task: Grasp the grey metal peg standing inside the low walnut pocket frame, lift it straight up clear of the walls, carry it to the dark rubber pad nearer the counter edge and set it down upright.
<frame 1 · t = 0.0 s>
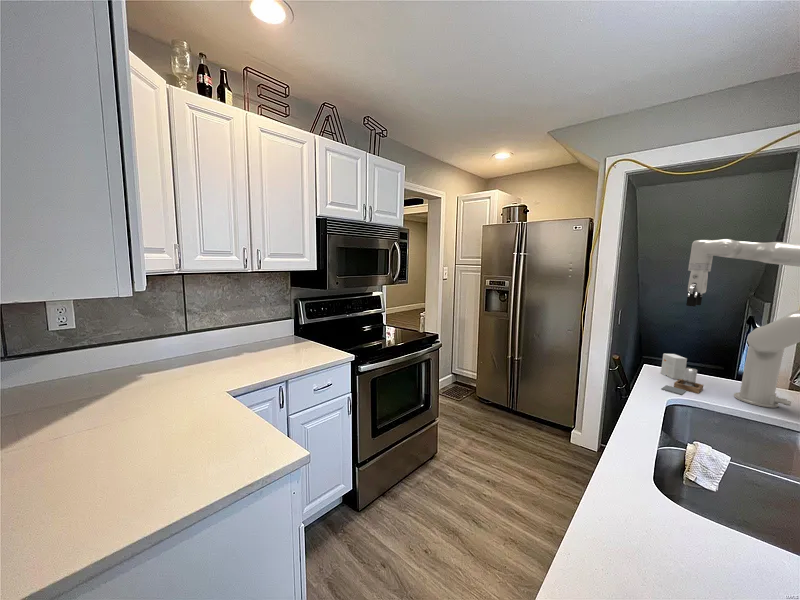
hand: (693, 305, 149), 37 cm above the countertop, tool pointing down, fingers open, 9 cm apart
pocket frame: (688, 388, 147), on the countertop
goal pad: (673, 390, 143), on the countertop
peg: (689, 378, 146), in the pocket frame
small box: (672, 376, 162), on the countertop
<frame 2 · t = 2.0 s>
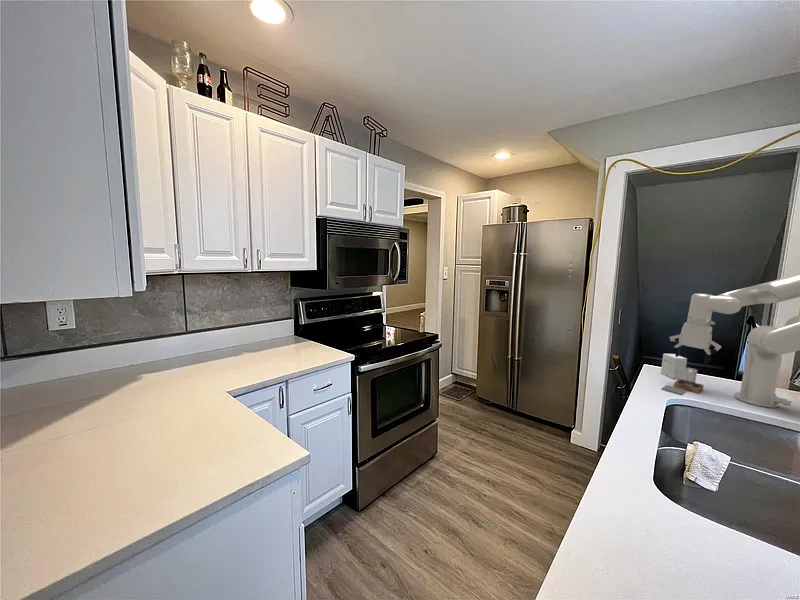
hand: (690, 359, 145), 13 cm above the countertop, tool pointing down, fingers open, 9 cm apart
nothing on the countertop moved.
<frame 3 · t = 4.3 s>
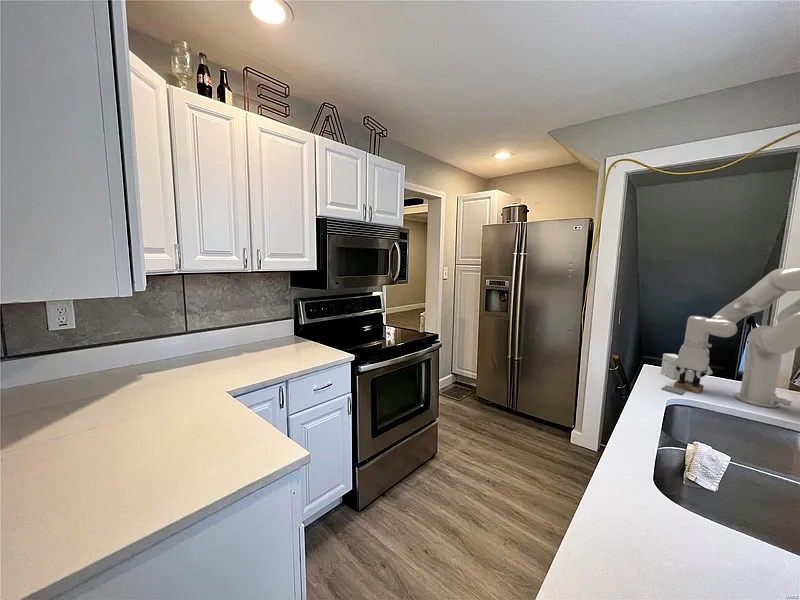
hand: (688, 383, 146), 2 cm above the countertop, tool pointing down, fingers closed on peg, 4 cm apart
peg: (689, 378, 146), in the pocket frame, touching gripper
everything else where it was.
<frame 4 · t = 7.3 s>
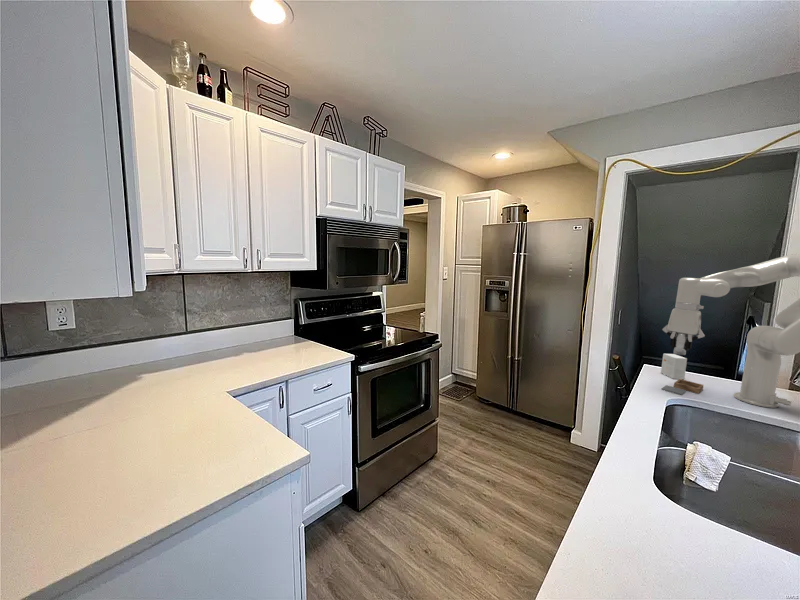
hand: (680, 348, 141), 19 cm above the countertop, tool pointing down, fingers closed on peg, 4 cm apart
peg: (681, 343, 141), point 21 cm above the countertop, touching gripper
everything else where it was.
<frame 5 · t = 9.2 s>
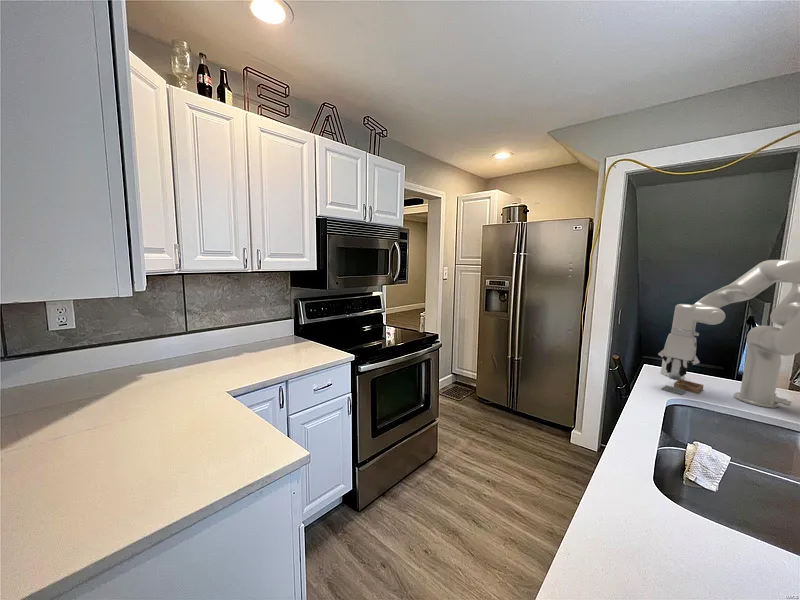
hand: (675, 373, 142), 8 cm above the countertop, tool pointing down, fingers closed on peg, 4 cm apart
peg: (676, 368, 142), point 10 cm above the countertop, touching gripper
everything else where it was.
when the fingers open (4 cm above the countertop, at t = 10.8 s): peg stays where it is, resting on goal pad.
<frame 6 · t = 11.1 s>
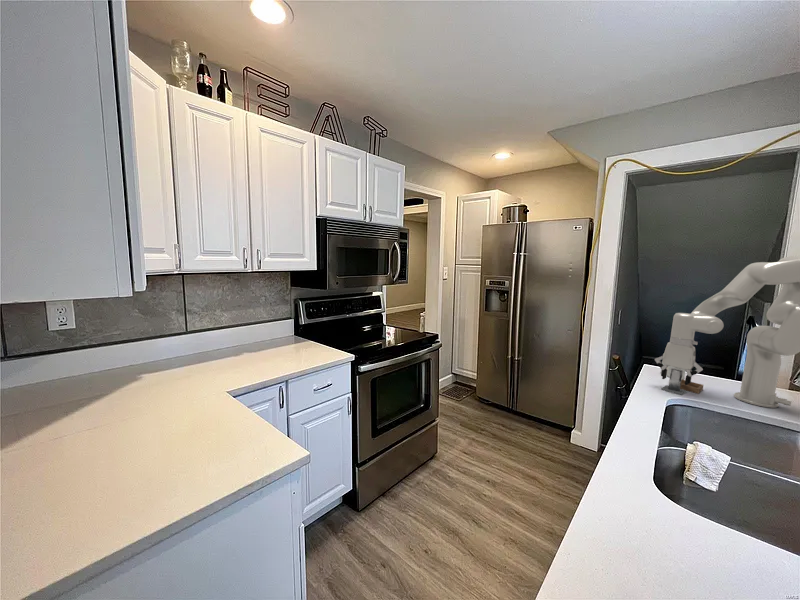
hand: (675, 381, 143), 4 cm above the countertop, tool pointing down, fingers open, 7 cm apart
peg: (675, 379, 143), on the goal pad, point 5 cm above the countertop
everything else where it was.
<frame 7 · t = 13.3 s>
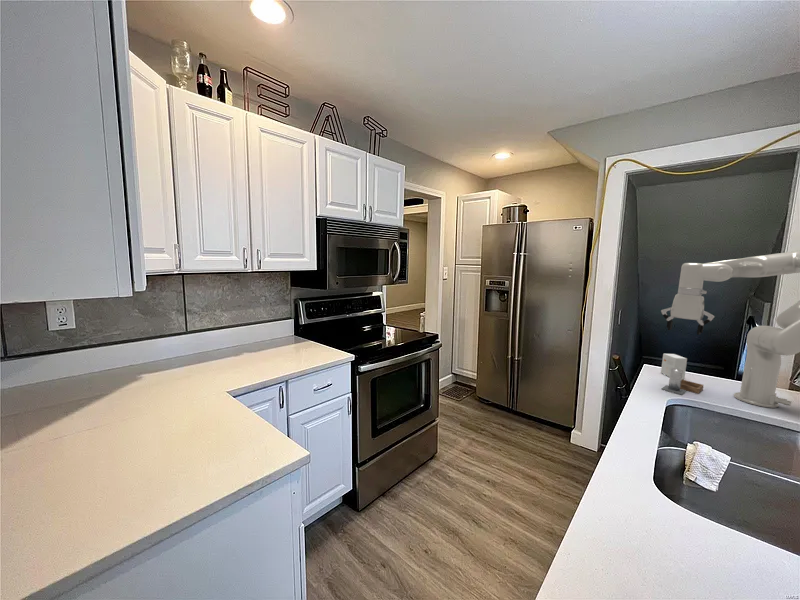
hand: (683, 331, 140), 26 cm above the countertop, tool pointing down, fingers open, 9 cm apart
nothing on the countertop moved.
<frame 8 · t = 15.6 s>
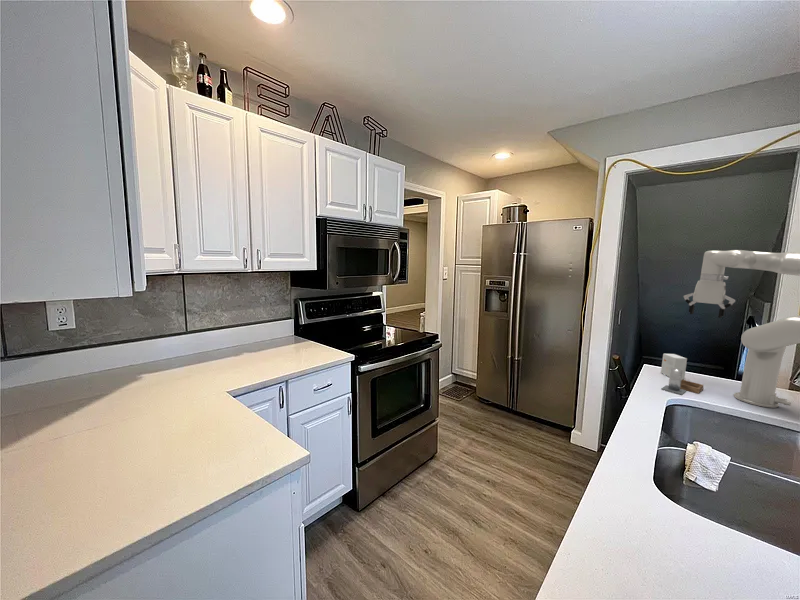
hand: (705, 315, 149), 32 cm above the countertop, tool pointing down, fingers open, 9 cm apart
nothing on the countertop moved.
at the end: peg inside the target area on the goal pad (0.1 cm from its centre), point 5.1 cm above the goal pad's base; peg tilted 0°; peg touching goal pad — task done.
